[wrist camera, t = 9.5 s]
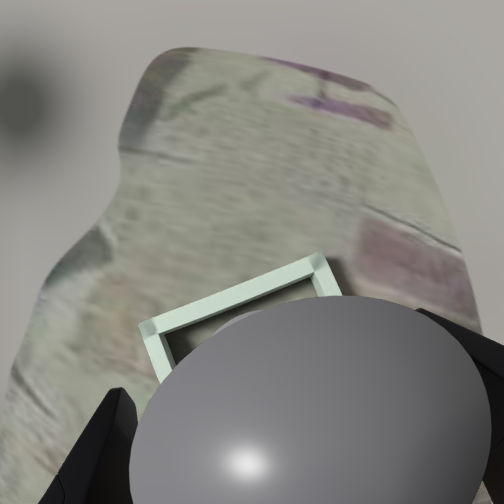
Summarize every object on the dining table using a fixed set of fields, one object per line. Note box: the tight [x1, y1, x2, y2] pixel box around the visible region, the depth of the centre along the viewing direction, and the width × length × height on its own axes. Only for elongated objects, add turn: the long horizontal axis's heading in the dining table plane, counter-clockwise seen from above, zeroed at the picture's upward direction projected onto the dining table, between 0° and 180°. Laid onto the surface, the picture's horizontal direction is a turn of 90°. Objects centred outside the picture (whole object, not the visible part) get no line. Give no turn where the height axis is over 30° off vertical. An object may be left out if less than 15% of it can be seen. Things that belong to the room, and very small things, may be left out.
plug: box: [129, 295, 491, 504], centre depth 9 cm, size 7×7×13 cm
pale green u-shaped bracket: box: [138, 251, 342, 384], centre depth 15 cm, size 10×10×1 cm
